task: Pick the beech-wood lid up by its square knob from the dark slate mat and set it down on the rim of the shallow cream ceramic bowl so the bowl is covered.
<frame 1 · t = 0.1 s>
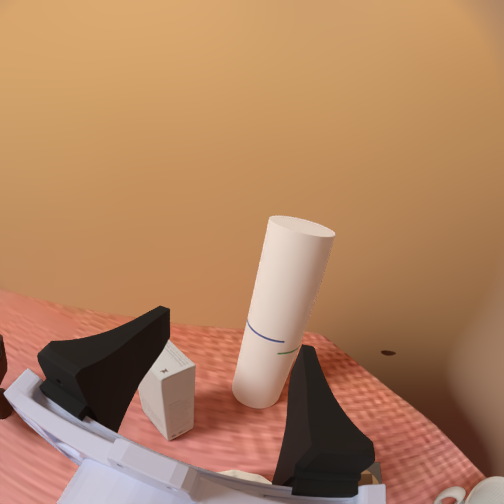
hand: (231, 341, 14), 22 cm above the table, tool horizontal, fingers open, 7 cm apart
cylindrical container: (255, 391, 36), on the table
skincare box: (166, 420, 28), on the table
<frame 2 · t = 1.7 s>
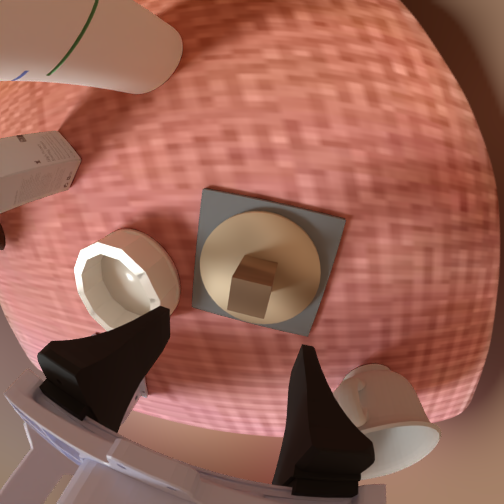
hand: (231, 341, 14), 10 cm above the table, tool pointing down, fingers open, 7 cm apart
cylindrical container: (147, 58, 17), on the table
teacup: (363, 372, 25), on the table
mat: (260, 267, 22), on the table
bowl: (135, 277, 25), on the table
skincare box: (62, 159, 22), on the table
lid: (259, 269, 22), resting on mat
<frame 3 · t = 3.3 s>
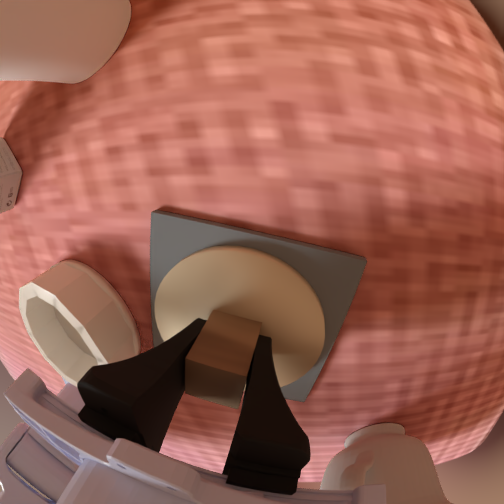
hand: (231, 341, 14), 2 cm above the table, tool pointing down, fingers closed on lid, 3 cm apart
cylindrical container: (89, 36, 10), on the table
teacup: (371, 430, 18), on the table
mat: (239, 321, 15), on the table
bowl: (89, 317, 18), on the table
skincare box: (8, 171, 16), on the table
lid: (237, 326, 15), resting on mat, touching gripper
when the fingers open (7 cm above the table, at t = 5.4 s): lid stays where it is, resting on bowl.
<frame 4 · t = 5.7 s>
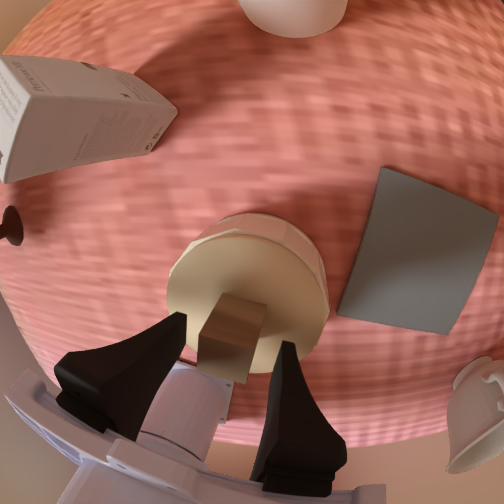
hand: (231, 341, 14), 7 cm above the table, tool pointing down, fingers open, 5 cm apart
ice cream bowl: (14, 225, 25), on the table
cylindrical container: (293, 0, 12), on the table
teacup: (472, 366, 19), on the table
mat: (425, 262, 17), on the table
bowl: (255, 280, 20), on the table
skincare box: (138, 113, 17), on the table
lid: (244, 309, 16), point 4 cm above the table, touching bowl
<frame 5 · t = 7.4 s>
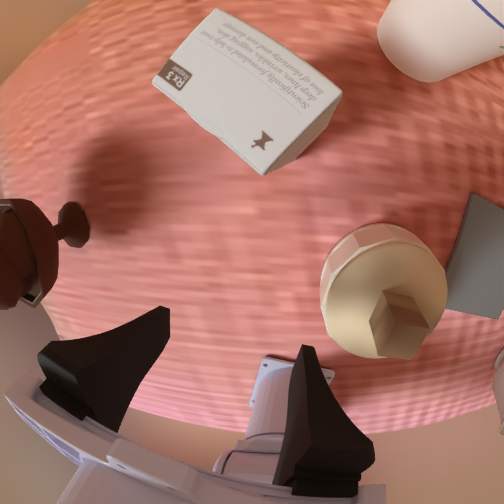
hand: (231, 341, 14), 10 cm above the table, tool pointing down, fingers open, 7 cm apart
ice cream bowl: (74, 224, 26), on the table
cylindrical container: (415, 45, 14), on the table
mat: (489, 263, 18), on the table
bowl: (377, 280, 22), on the table
skincare box: (279, 118, 19), on the table
lid: (388, 303, 18), point 4 cm above the table, touching bowl
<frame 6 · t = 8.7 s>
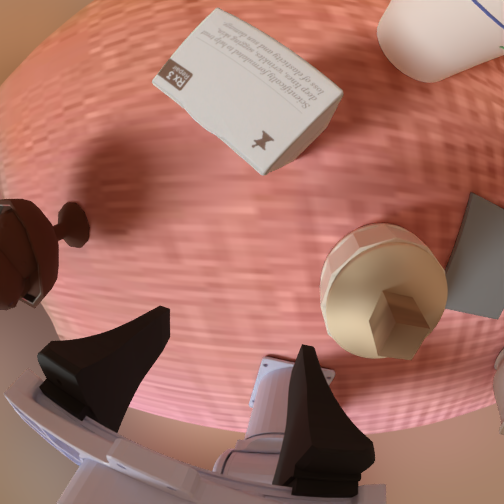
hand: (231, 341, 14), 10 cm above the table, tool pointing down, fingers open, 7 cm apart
ice cream bowl: (74, 224, 26), on the table
cylindrical container: (415, 45, 14), on the table
mat: (489, 263, 18), on the table
bowl: (377, 280, 22), on the table
skincare box: (279, 118, 19), on the table
lid: (388, 303, 18), point 4 cm above the table, touching bowl
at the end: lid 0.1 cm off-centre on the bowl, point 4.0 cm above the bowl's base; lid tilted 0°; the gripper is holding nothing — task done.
